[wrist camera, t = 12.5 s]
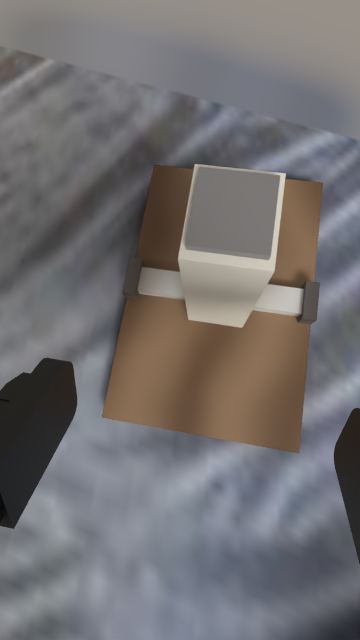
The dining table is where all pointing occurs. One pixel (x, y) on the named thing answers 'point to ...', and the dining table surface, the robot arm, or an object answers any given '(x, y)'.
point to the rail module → (229, 241)
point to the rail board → (216, 331)
